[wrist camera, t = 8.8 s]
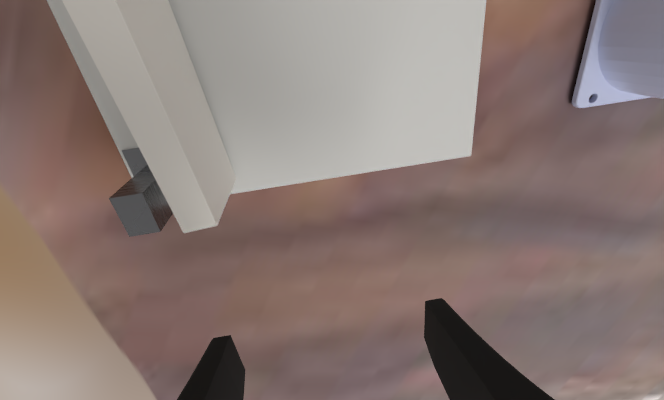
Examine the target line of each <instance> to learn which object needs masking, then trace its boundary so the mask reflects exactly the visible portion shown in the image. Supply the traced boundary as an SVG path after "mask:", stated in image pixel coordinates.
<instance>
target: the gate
mask: <svg viewBox="0 0 664 400" xmlns="http://www.w3.org/2000/svg"><path fill="white" fill-rule="evenodd" d="M62 1H63V3H64V5H65V7H66V9H67V11H68V13H69V15H70V17H71V19H72V21H73V22H74V24H75V26H76V28H77V30H78V32H79V34H80V36H81V38H82V40H83V42H84V44H85V45H86V47H87V49H88V51H89V53H90V55H91V57H92V59H93V61H94V63H95V65H96V67H97V68H98V70H99V72H100V74H101V76H102V78H103V80H104V82H105V84H106V86H107V88H108V90H109V91H110V93H111V95H112V97H113V99H114V101H115V103H116V105H117V107H118V109H119V111H120V112H121V114H122V116H123V118H124V120H125V122H126V124H127V126H128V128H129V130H130V132H131V134H132V135H133V137H134V139H135V141H136V143H137V145H138V147H139V149H140V151H141V153H142V155H143V157H144V158H145V160H146V162H147V164H148V166H149V168H150V170H151V172H152V174H153V176H154V178H155V179H156V181H157V183H158V185H159V187H160V189H161V191H162V193H163V195H164V197H165V199H166V201H167V202H168V204H169V206H170V208H171V210H172V212H173V214H174V216H175V218H176V220H177V222H178V224H179V225H180V227H181V229H182V231H183V233H187V232H192V231H196V230H200V229H205V228H209V227H214V226H217V225H218V223H219V220H220V218H221V215H222V213H223V210H224V208H225V205H226V203H227V201H228V198H229V196H230V193H231V191H232V188H233V186H234V183H235V181H236V177H235V174H234V171H233V169H232V166H231V164H230V161H229V158H228V156H227V153H226V150H225V148H224V145H223V143H222V140H221V137H220V135H219V132H218V129H217V127H216V124H215V122H214V119H213V116H212V114H211V111H210V108H209V106H208V103H207V101H206V98H205V95H204V93H203V90H202V87H201V85H200V82H199V80H198V77H197V74H196V72H195V69H194V66H193V64H192V61H191V59H190V56H189V53H188V51H187V48H186V45H185V43H184V40H183V38H182V35H181V32H180V30H179V27H178V24H177V22H176V19H175V17H174V14H173V11H172V9H171V6H170V3H169V1H168V0H62Z"/></svg>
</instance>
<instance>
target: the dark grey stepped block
mask: <svg viewBox="0 0 664 400" xmlns="http://www.w3.org/2000/svg"><path fill="white" fill-rule="evenodd" d="M122 153H123V155H124V157H125V159H126V161H127V163H128V165H129V168H130V170H131V172H132V174H133V176H134V177H133V178H132V179H130V180H129V181H128V182H127V183H126V184H125V185H124V186H123V187H121V188H120V189H119V190H118V191H117V192H116V193H115V194H113V195H112V196H111V197H110V198H109V199H110V201H111V203H112V205H113V207H114V209H115V210H116V212H117V214H118V216H119V218H120V220H121V222H122V224H123V225H124V227H125V229H126V231H127V233H128V235H129V237H130V236H137V235H143V234H149V233H155V232H160V231H161V230H162V229H163V227H164V226H165V224H166V223H167V221H168V220H169V218H170V217H171V215H172V214H173V212H172V210H171V208H170V206H169V204H168V202H167V201H166V199H165V197H164V195H163V193H162V191H161V189H160V187H159V185H158V183H157V181H156V179H155V178H154V176H153V174H152V172H151V170H150V168H149V166H148V164H147V162H146V160H145V158H144V157H143V155H142V153H141V151H140V149H139V148H132V149H126V150H122Z"/></svg>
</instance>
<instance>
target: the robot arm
mask: <svg viewBox="0 0 664 400" xmlns="http://www.w3.org/2000/svg"><path fill="white" fill-rule="evenodd" d="M591 95H592V97H591V99H590V100H589V98H590V96H591ZM650 97H656V98H661V99H664V0H596V3H595V7H594V11H593V15H592V19H591V23H590V28H589V32H588V36H587V40H586V44H585V48H584V52H583V57H582V61H581V65H580V69H579V73H578V77H577V81H576V86H575V90H574V94H573V98H572V104H573V106H575V107H578V108H586V107H592V106H599V105H605V104H612V103H618V102H624V101H631V100H637V99H644V98H650ZM424 338H425V341H426V344H427V347H428V350H429V353H430V356H431V359H432V361H433V364H434V367H435V369H436V371H437V373H438V375H439V378H440V380H441V382H442V384H443V386H444V388H445V390H446V393H447V395H448V397H449V399H450V400H554V399H553V398H552V397H550V396H549V395H548V394H546V393H545V392H544V391H543V390H541V389H540V388H539V387H537V386H536V385H535V384H534V383H532V382H531V381H530V380H529V379H527V378H526V377H525V376H524V375H522V374H521V373H520V372H519V371H518V370H517V369H515V368H514V367H513V366H512V365H511V364H510V363H508V362H507V361H506V360H505V359H504V358H503V357H501V356H500V355H499V354H498V353H497V352H496V351H495V350H494V349H493V348H492V347H491V346H489V345H488V344H487V343H486V342H485V341H484V340H483V339H482V338H481V337H480V336H479V335H478V334H477V333H476V332H475V331H474V330H473V329H472V328H471V327H470V326H469V325H468V324H467V323H466V322H465V321H464V320H463V319H462V318H461V317H460V316H459V315H458V314H457V313H456V312H455V311H454V310H453V309H452V308H451V307H450V306H449V305H448V304H447V303H446V302H445V300H443V299H442V298H440V299H434V300H429V301H425V330H424ZM244 381H245V368H244V366H243V364H242V361H241V359H240V357H239V354H238V352H237V350H236V347H235V345H234V343H233V340H232V338H231V335H229V336H223V337H217V338H213V339H212V341H211V342H210V344H209V346H208V348H207V350H206V351H205V353H204V355H203V357H202V358H201V360H200V362H199V364H198V365H197V367H196V369H195V371H194V372H193V374H192V376H191V377H190V379H189V381H188V382H187V384H186V386H185V387H184V389H183V391H182V392H181V394H180V395H179V397H178V399H177V400H243V396H244Z"/></svg>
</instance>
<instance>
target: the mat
mask: <svg viewBox="0 0 664 400" xmlns="http://www.w3.org/2000/svg"><path fill="white" fill-rule="evenodd" d="M168 1H169V3H170V6H171V9H172V11H173V14H174V17H175V19H176V22H177V24H178V27H179V30H180V32H181V35H182V38H183V40H184V43H185V45H186V48H187V51H188V53H189V56H190V59H191V61H192V64H193V66H194V69H195V72H196V74H197V77H198V80H199V82H200V85H201V87H202V90H203V93H204V95H205V98H206V101H207V103H208V106H209V108H210V111H211V114H212V116H213V119H214V122H215V124H216V127H217V129H218V132H219V135H220V137H221V140H222V143H223V145H224V148H225V150H226V153H227V156H228V158H229V161H230V164H231V166H232V169H233V171H234V174H235V177H236V181H235V183H234V186H233V188H232V191H231V193H230V194H234V193H241V192H247V191H253V190H260V189H266V188H272V187H278V186H285V185H291V184H297V183H304V182H310V181H316V180H322V179H329V178H335V177H341V176H348V175H354V174H360V173H366V172H373V171H379V170H385V169H392V168H398V167H404V166H410V165H417V164H423V163H429V162H436V161H442V160H448V159H454V158H461V157H467V156H471V152H472V142H473V131H474V121H475V111H476V100H477V90H478V80H479V70H480V59H481V49H482V39H483V29H484V18H485V8H486V0H168ZM47 2H48V4H49V6H50V8H51V11H52V13H53V15H54V17H55V19H56V21H57V23H58V25H59V27H60V29H61V31H62V33H63V36H64V38H65V40H66V42H67V44H68V46H69V48H70V50H71V52H72V54H73V56H74V59H75V61H76V63H77V65H78V67H79V69H80V71H81V73H82V75H83V77H84V79H85V81H86V84H87V86H88V88H89V90H90V92H91V94H92V96H93V98H94V100H95V102H96V104H97V106H98V109H99V111H100V113H101V115H102V117H103V119H104V121H105V123H106V125H107V127H108V129H109V132H110V134H111V136H112V138H113V140H114V142H115V144H116V146H117V148H118V150H119V152H120V154H121V157H122V159H123V161H124V163H125V165H126V167H127V169H128V171H129V173H130V175H131V177H132V178H133V177H134V176H133V174H132V172H131V170H130V168H129V165H128V163H127V161H126V159H125V157H124V155H123V153H122V150H126V149H132V148H139V147H138V145H137V143H136V141H135V139H134V137H133V135H132V134H131V132H130V130H129V128H128V126H127V124H126V122H125V120H124V118H123V116H122V114H121V112H120V111H119V109H118V107H117V105H116V103H115V101H114V99H113V97H112V95H111V93H110V91H109V90H108V88H107V86H106V84H105V82H104V80H103V78H102V76H101V74H100V72H99V70H98V68H97V67H96V65H95V63H94V61H93V59H92V57H91V55H90V53H89V51H88V49H87V47H86V45H85V44H84V42H83V40H82V38H81V36H80V34H79V32H78V30H77V28H76V26H75V24H74V22H73V21H72V19H71V17H70V15H69V13H68V11H67V9H66V7H65V5H64V3H63V1H62V0H47Z"/></svg>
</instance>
